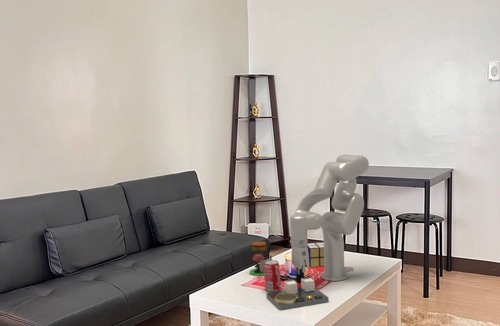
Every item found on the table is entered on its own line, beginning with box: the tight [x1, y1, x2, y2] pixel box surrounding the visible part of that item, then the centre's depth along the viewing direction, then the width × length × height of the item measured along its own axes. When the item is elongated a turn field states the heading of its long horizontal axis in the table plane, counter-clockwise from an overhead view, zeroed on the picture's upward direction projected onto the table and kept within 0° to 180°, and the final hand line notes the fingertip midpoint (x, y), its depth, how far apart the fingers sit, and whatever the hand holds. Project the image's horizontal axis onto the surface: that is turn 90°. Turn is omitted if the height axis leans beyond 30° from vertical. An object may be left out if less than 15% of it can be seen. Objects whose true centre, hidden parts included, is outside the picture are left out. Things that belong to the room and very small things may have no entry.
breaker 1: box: [283, 279, 298, 294], centre depth 237 cm, size 4×5×5 cm
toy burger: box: [249, 241, 273, 277], centre depth 272 cm, size 12×13×15 cm
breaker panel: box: [265, 286, 330, 311], centre depth 234 cm, size 22×16×3 cm
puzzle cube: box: [307, 241, 324, 268], centre depth 284 cm, size 10×10×10 cm
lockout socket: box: [275, 293, 298, 304], centre depth 229 cm, size 10×10×1 cm
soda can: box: [263, 259, 282, 293], centre depth 247 cm, size 7×7×13 cm
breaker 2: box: [300, 276, 315, 292], centre depth 240 cm, size 4×5×5 cm
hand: (300, 282), depth 247 cm, fingers closed
